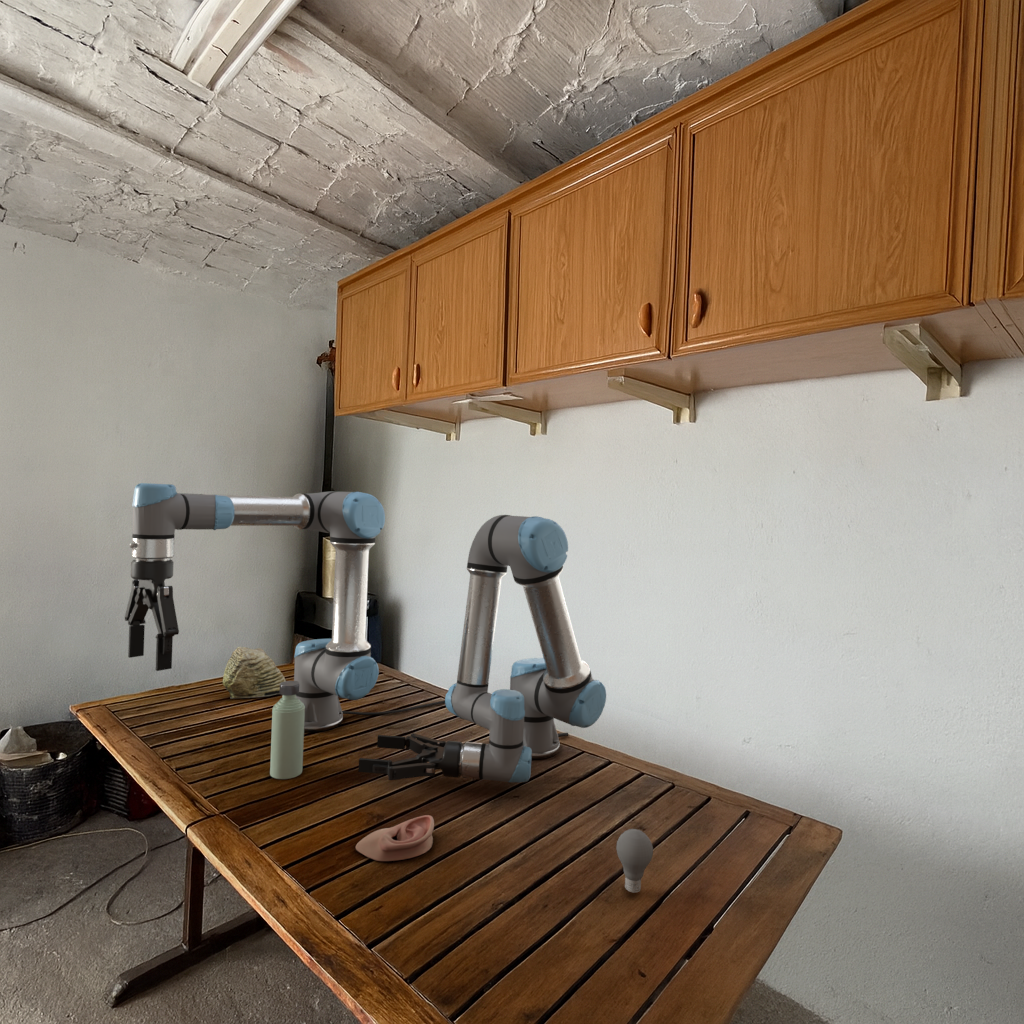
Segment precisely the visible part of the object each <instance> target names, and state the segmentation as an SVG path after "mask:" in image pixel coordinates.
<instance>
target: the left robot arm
mask: <svg viewBox="0 0 1024 1024" xmlns="http://www.w3.org/2000/svg"><path fill="white" fill-rule="evenodd" d="M131 505H132V506H131V507H132V536H131V537H132V538H131V543H129V548H130V549H131V557H132V558H133V560H132V561H131V562H130V578H131V579H132V580H131V590H130V594H129V598H128V602H127V605H126V610H125V613H124V621H125V622H127V625H128V652H127V653H128V654H127V656H128V658H130V659H131V658H139V657H143V656H144V655H145V629H146V626H145V624H146V623H147V622H146V619H145V618H146V616H147V613H148V611H149V610H151V612H152V616H153V619H154V623H155V626H156V630H157V634H156V635H155V637H154V638H155V639H156V642H155V643H156V645H155V647H156V649H155V671H156V672H160V671H166V670H171V669H172V667H173V665H172V664H173V639H174V637H175V636H177V635H179V632H180V630H179V629H180V628H179V625H178V619H177V613H176V607H175V606H176V605H175V601H174V587H173V585H166V584H165V581H166V580H168V579H171V578H173V576H174V561H173V559H172V558H173V557H174V556H175V535H176V533H175V531H176V530H177V531H182V530H201V531H202V530H213V531H216V530H225V529H229V528H230V527H234V526H237V527H238V526H239V527H243V526H245V527H247V526H248V527H250V526H251V527H252V526H256V527H259V526H261V527H263V526H265V527H266V526H268V527H269V526H276V527H277V526H279V527H280V526H281V527H284V526H285V527H290V526H291V527H292V526H293V528H294V529H296V530H308V531H309V530H310V531H316V532H319V533H320V532H321V533H325V534H329V543H330V545H332V547H333V548H334V550H335V554H334V555H335V558H334V581H333V604H332V605H333V606H332V629H331V630H332V631H331V638H317V639H308V640H304V641H300V642H299V643H297V645H296V646H295V650H294V655H293V657H294V672H293V673H294V674H293V681H298V682H299V693H298V694H296V697H297V699H299V700H300V701H301V702H302V703H303V704H304V706H305V716H304V733H316V732H325V731H329V730H332V729H335V728H337V727H339V726H340V725H342V723H343V722H344V715H356V716H381V715H390V714H391V715H392V714H397V713H403V712H408V711H409V712H410V711H414V710H418V709H422V708H427V707H431V706H437V705H443V704H445V700H440V701H439V700H438V701H434V702H430V703H425V704H420V705H416V706H412V707H407V708H401V709H395V710H386V711H371V712H370V711H369V712H368V711H367V712H366V711H365V712H361V711H352V710H351V711H349V710H343V709H342V706H341V702H340V699H339V698H341V699H344V700H348V701H349V700H350V701H357V700H360V699H362V698H364V697H365V696H367V695H368V694H370V692H371V690H372V689H374V687H375V685H376V683H377V682H378V678H379V674H380V670H379V669H380V668H379V665H378V662H376V660H375V659H374V657H372V656H371V655H372V653H371V652H372V644H371V643H370V642H369V641H368V640H367V639H366V633H367V632H366V631H367V607H368V606H367V605H368V586H369V585H368V583H369V560H370V550H371V548H372V547H374V545H376V537H377V536H378V535H380V533H381V530H383V529H384V527H385V523H386V513H385V509H384V507H383V505H382V503H381V502H380V501H379V500H378V498H377V497H375V495H373V494H370V493H367V492H363V491H362V492H361V491H337V490H336V491H335V490H333V491H332V490H331V491H321V492H311V493H296V494H294V495H293V496H276V495H275V496H274V495H273V496H271V495H245V494H244V495H243V494H242V495H241V494H218V493H217V494H216V493H215V494H214V493H213V494H211V493H183V492H178V491H177V488H176V485H174V484H170V483H151V482H150V483H148V482H147V483H146V482H141V483H138V484H136V485H135V487H134V491H133V497H132V504H131Z"/></svg>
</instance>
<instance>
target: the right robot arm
mask: <svg viewBox="0 0 1024 1024" xmlns="http://www.w3.org/2000/svg"><path fill="white" fill-rule="evenodd" d="M568 552H569V542H568V537H567V535H566V533H565V530H564V529H563V527H562V526H561V525H560V524H559V523H558V522H556V521H555V520H553V519H550V518H546V517H542V516H537V515H536V516H535V515H534V516H523V515H511V514H499V515H495V516H492V517H491V518H490V519H488V520H486V521H485V522H484V523H483V524H482V525H481V526H480V528H479V529H478V530H477V532H476V534H475V536H474V538H473V540H472V542H471V545H470V548H469V552H468V558H467V564H466V570H467V571H468V573H469V582H468V589H467V590H468V591H467V598H466V604H465V605H466V606H465V613H464V621H463V629H462V637H461V645H460V653H459V662H458V668H457V676H456V683H453V684H452V685H450V686H449V688H448V690H447V693H446V694H445V697H444V701H445V703H444V705H445V707H446V709H447V711H448V712H449V713H451V714H452V715H454V716H456V717H457V718H459V719H461V720H466V721H468V722H470V723H473V724H475V725H477V726H479V727H481V728H484V729H486V730H488V731H489V732H488V734H489V735H488V743H484V742H474V741H466V742H464V743H463V742H462V741H459V740H458V741H457V740H447V741H446V740H439V739H434V738H432V737H429V736H426V735H425V736H424V735H421V734H418V733H413V732H412V733H411V734H410V735H407V736H399V735H398V736H397V735H385V734H378V735H377V739H376V742H377V743H376V745H377V746H376V748H377V749H378V748H379V749H390V750H391V749H393V750H405V751H412V752H414V753H416V754H417V755H415V756H414V757H409V758H405V759H401V760H396V761H393V760H392V759H378V758H376V759H375V758H366V757H365V758H364V757H360V758H359V759H358V770H357V771H358V773H365V774H366V773H368V774H379V775H387V776H388V777H387V779H388V781H397V780H404V779H405V780H406V779H413V778H422V777H435V776H436V770H441V774H442V776H443V777H444V778H455V779H457V778H460V776H461V778H462V779H469V780H470V779H471V781H474V782H475V781H476V780H484V781H493V782H505V783H508V784H510V783H527V782H529V780H530V778H531V771H532V760H542V759H548V758H551V757H553V756H556V755H557V754H558V753H559V752H560V744H561V743H560V738H563V737H569V732H560V733H559V732H558V731H557V728H556V723H555V720H557V721H559V722H563V723H565V724H568V725H570V726H572V727H577V728H581V729H586V728H590V727H591V726H593V725H594V724H595V723H596V722H597V721H598V720H600V719H599V718H600V717H601V716H602V713H603V711H604V709H605V707H606V702H607V689H606V686H605V684H604V683H603V682H602V681H600V680H599V679H594V678H593V675H592V671H591V668H590V665H589V664H588V663H587V662H586V661H585V660H583V659H582V658H581V654H580V650H579V647H578V643H577V639H576V636H575V632H574V627H573V624H572V621H571V617H570V613H569V609H568V605H567V602H566V598H565V595H564V590H563V587H562V583H561V579H560V576H561V574H562V572H563V571H564V565H565V563H566V561H567V558H568V554H567V553H568ZM508 567H509V568H510V571H511V575H512V578H513V581H514V582H515V583H516V584H517V585H520V586H522V588H523V591H524V595H525V598H526V602H527V605H528V610H529V613H530V616H531V619H532V620H531V621H532V623H533V627H534V630H535V633H536V638H537V640H538V644H539V648H540V651H541V654H542V657H530V658H522V659H519V660H516V661H514V662H513V664H512V666H511V670H510V671H511V672H510V677H509V678H510V681H509V688H502V689H497V690H495V691H493V692H492V693H490V692H488V691H489V684H490V683H489V681H490V673H491V665H492V657H493V649H494V641H495V634H496V626H497V617H498V611H499V604H500V595H501V587H502V579H503V578H504V577H505V576H506V575H507V574H508Z"/></svg>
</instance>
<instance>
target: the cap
mask: <svg viewBox="0 0 1024 1024" xmlns="http://www.w3.org/2000/svg"><path fill="white" fill-rule="evenodd" d="M279 693H280V694H279V695H281V696H283V695H286V696H289V695H296V694H298V693H299V682H298V681H294V680H286V681H284V682H281V683H280V692H279Z"/></svg>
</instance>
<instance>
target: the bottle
mask: <svg viewBox="0 0 1024 1024" xmlns="http://www.w3.org/2000/svg"><path fill="white" fill-rule="evenodd" d="M271 710H272V711H271V733H270V734H271V737H270V738H271V740H270V765H269V766H270V767H269V775H270V777H271V778H274V779H276V780H288V779H289V780H290V779H293V778H296V777H298V776H300V775H301V774H302V773H303V767H304V766H303V765H304V740H305V739H304V738H305V732H304V716H305V706H304V704H303V703H302V702H301V701H300V700H299V699H297V697H296V695H289V696H286V695H282V697H281V698H280V699H279V700H278V701H277V702H276V703H275V704H274V705H273V707H272V708H271Z"/></svg>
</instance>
